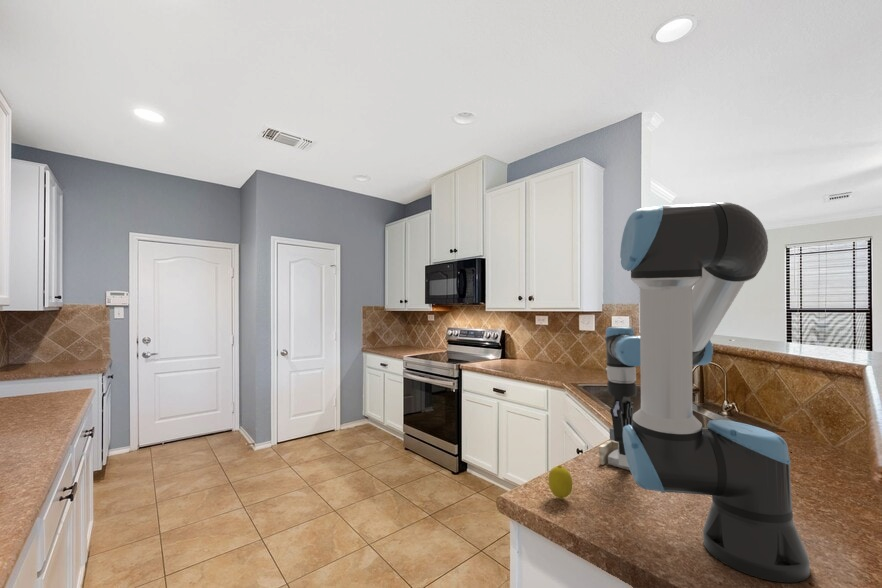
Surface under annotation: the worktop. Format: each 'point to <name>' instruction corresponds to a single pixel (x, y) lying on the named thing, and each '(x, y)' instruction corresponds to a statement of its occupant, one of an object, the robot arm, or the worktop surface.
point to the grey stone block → (615, 460)
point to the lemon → (560, 482)
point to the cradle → (606, 450)
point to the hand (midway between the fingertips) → (624, 465)
